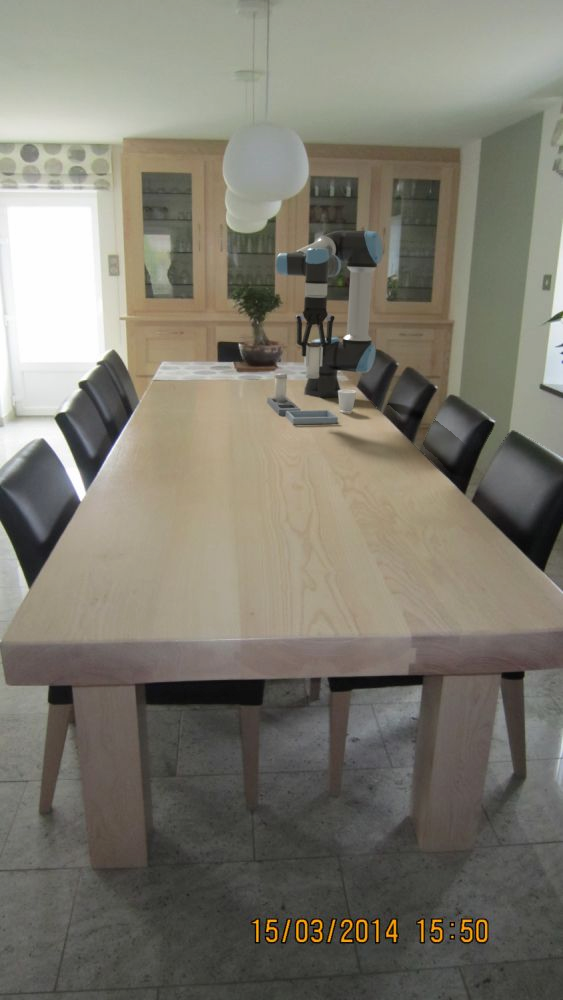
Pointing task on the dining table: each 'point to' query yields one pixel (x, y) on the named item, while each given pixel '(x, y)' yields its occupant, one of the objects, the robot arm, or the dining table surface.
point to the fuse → (280, 387)
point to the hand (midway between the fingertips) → (313, 365)
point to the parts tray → (311, 417)
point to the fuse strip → (282, 406)
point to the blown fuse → (313, 360)
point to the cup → (346, 400)
